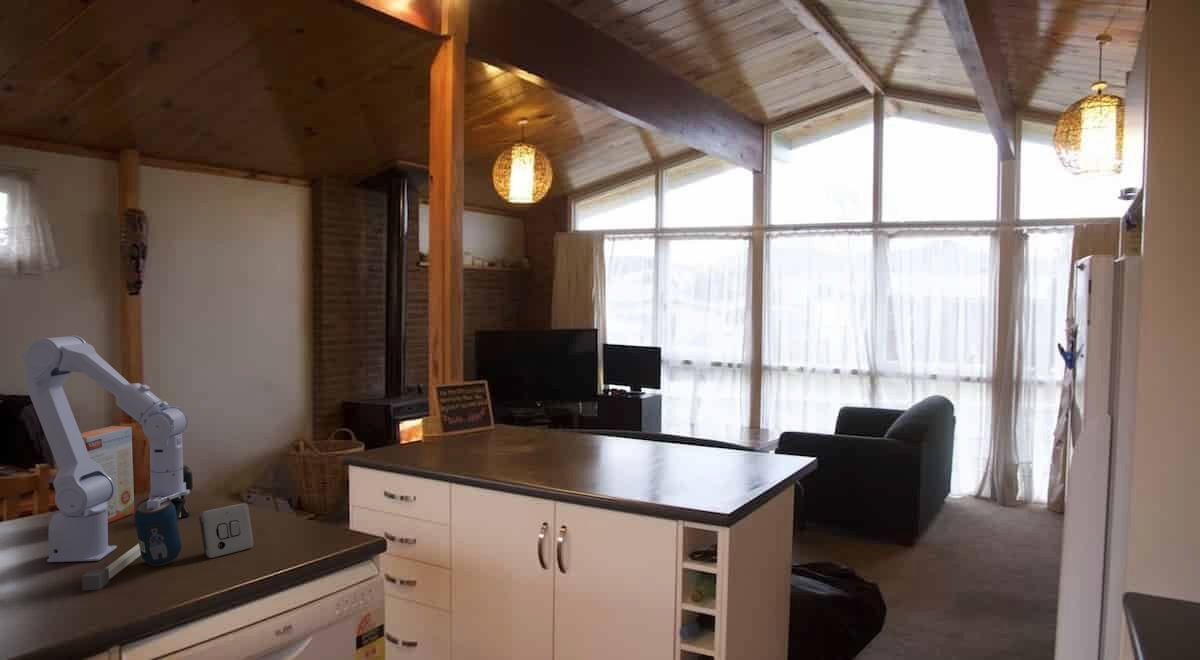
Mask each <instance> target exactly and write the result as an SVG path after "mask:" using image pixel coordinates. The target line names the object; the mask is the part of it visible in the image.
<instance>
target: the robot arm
mask: <svg viewBox="0 0 1200 660" xmlns="http://www.w3.org/2000/svg"><path fill="white" fill-rule="evenodd" d="M21 357H22V359H23V362H24V364H25V367H26V375H25V376H26V377H25V378H26V380H25V387H26V390H27V393H28V395H29V398H30V400H31V402H32V404H33V405H32V406H33V408H34V410H35V412H36V416H37V417H38V420H39V423H40V425H41V428H42V430H43V433H44V435H45V437H46V440H47V443H48V445H49V448H50V450H51V453H52V456H53V458H54V460H55V463H56V465H57V468H58V473H56V475H55V478H54V480H53V482H52V485H53V488H54V490H55V491H54V492H55V494H54V495H55V496H54V502H55V506H56V507H57V509H58V510H59V512H56V513H54V514H53V515H52V517H50V521H49V524H48V559H46V562H47V563H64V562H65V563H66V562H67V563H69V562H70V563H71V562H94V561H95V562H96V561H97V562H98V561H100V560H101V559H103V558H105V557H106V556H108V555H109V554H110V553H112V552H113V551H114V550H116V549H117V547H118V545H109V533H108V532H109V531H108V529H109V525H108V524H109V523H108V517H107V507H108V501H109V500H110V499H111V498H112V497H113V495H114V492H115V486H114V482H113V481H112V479H111V478H110V477H109V476H108V475H107V474H106V473H105V472H104V470H103V467H102V466H101V465H100V464H98V463H96V462H95V461H93V460H91V459H90V456H89V454H88V451H87V448H86V446H85V443H84V441H83V438H82V436H81V433H82V432H81V431H80V429H79V426H78V424H77V421H76V419H75V416H74V413H73V411H72V408H71V405H70V403H69V400H68V398H67V395H66V394H65V390H64V388H63V385H64V384H65V383H66V381H67V379H68V377H69V376H70V375H71V374H72V373H82V374H83V375H84V376H86V377H88V378H90V379H91V380H92V381H93V382H95V383H96V384H98V385H99V386H101V387H102V388H103V389H105V390H106V391H108V392H109V393H111V394H112V395H114V396H115V404H116V406H117V407H118V408H120V409H121V410H122V411H124V412H125V413H126V415H128V416H130V417H131V418H132V419H133V420H135V421H136V422H137V423H139V424H140V425H141V426H142V432H143V434H144V436H145V437H146V438H147V439H148V447H149V468H150V469H149V473H150V475H149V477H150V492H149V495H148V496H149V497H148V498H149V500H148V501H147V509H149V508H150V507H154V508H152V509H157V508H159V507H160V504H161V503H163V502H165V501H166V500H168V498H169V499H170V500H171V502H172V503H173V505H174V506H175V509H176V516H177V522H179V519H180V518H179V515H180V512H181V510H182V507H183V505H184V506H185V503H186V498H185V497H184V498H177V497H179V496H182V495H185V496H188V495H189V494H191V491H190V490H186V482H183V466H184V456H183V455H184V454H183V453H184V452H183V451H184V450H183V445H184V444H183V432H185V430H186V429H187V428H188V423H189V420H188V416H187V414H186V413H185V412H184V411H183V409H182V408H181V407H178V406H170V405H169V403H168V402H167V401H166V400H165V401H163V400H162V399H160V398H159V397H158V396H156V394H155V393H153V392H151V390H150V389H151V387H150V386H149V385H147V384H141V383H139V382H138V383H137V382H135V383H130V382H129V381H128V380H127V379H125V378H124V376H122V375H121V374H120V373H119V372H118V371H117V370H116V369H115V368H114V367H113V366H111V365H110V364H109V363H108V362H107V361H106V360H105V359H103V358H102V356H100V354H98V353H97V352H96V350H95V348H94V346H93V345H92V344H90V343H87V342H86V340H85V339H83V338H82V337H81V336H79V335H73V334H71V335H66V336H58V337H57V336H56V337H39V338H35V339H34V340H32V341H31V342H30V344H29V345H28V346H27V348H26V349H25V351H24V353H23V354H22V356H21ZM79 479H81V480H79ZM154 496H159V497H154ZM161 496H165V497H161Z"/></svg>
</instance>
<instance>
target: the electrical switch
mask: <svg viewBox="0 0 1200 660" xmlns="http://www.w3.org/2000/svg"><path fill="white" fill-rule="evenodd" d="M198 519H199V526H200V533H201V538H202V539H201V540H202V545H203V553H204V555H206V557H207V558H209V559H212V558H217V557H220V556H225V555H228V554H232V553H236V552H240V551H245V550H248V549H251V548H253V546H254V538H253V530H252V524H251V518H250V511H249V505H248V504H247V503H239V504H234V505H228V506H224V507H223V506H222V507H220V508H215V509H208V510H204V511H202V512H201V514H200V516H199V517H198Z"/></svg>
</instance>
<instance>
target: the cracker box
mask: <svg viewBox="0 0 1200 660" xmlns="http://www.w3.org/2000/svg"><path fill="white" fill-rule="evenodd" d="M132 430H133V429H132V426H123V425H122V426H121V425H120V426H119V425H111V426H107V427H102V428H98V429H93V430H89V431H84V432H80V433H81V436H82V438H83V441H84V443H85V446H86V448H87V451H88V454H89V456H90V459H91V460H93V461H95V462H96V463H98V464H100V465H101V466H102V467H103V470H104V472H105V473H106V474H107V475H108V476H109V477H110V478H111V479H112V481H113V482H114V486H115V492H114V495H113V497H112V498H111V499H110V500H109V501H108V507H107V517H108V524H109V523H111V522H112V523H113V522H115V521H117V520H120V519H123V518H125V517H127V516H131V515H132V514H135V492H134V468H133V467H134V464H133V463H134V462H133V461H134V460H133V457H134V456H133V435H132V434H133V431H132ZM79 480H81V479H79Z"/></svg>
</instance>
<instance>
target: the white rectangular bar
mask: <svg viewBox="0 0 1200 660" xmlns="http://www.w3.org/2000/svg"><path fill="white" fill-rule="evenodd" d="M140 556H141V552H140V546H139V543H137V544H136V545H135V546H133V547H132V548H131V549H129V550H127V551H126V552H125V553H124V554H122V555H121V556H120V557H118V558H117V559H116V560H115V561H113V562H111V563H110V564H109V565H107V566H106V567H104V568H103V567H102V568H90V570H88V571H87V572H85V573H84V574H83V575H82V576H81V589H82V590H81V591H99V590H101V589H102V588H104V587H105V586H106V585H108V584H109V583H110V579H112V578H113V577H114V576H115V575H117V574H118V573H119V572H121V571H122V570H124V569H125V568H126V567H127V566H128V565H130V564H131V563H132V562H134V561H136V559H138V558H139V557H140Z"/></svg>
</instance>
